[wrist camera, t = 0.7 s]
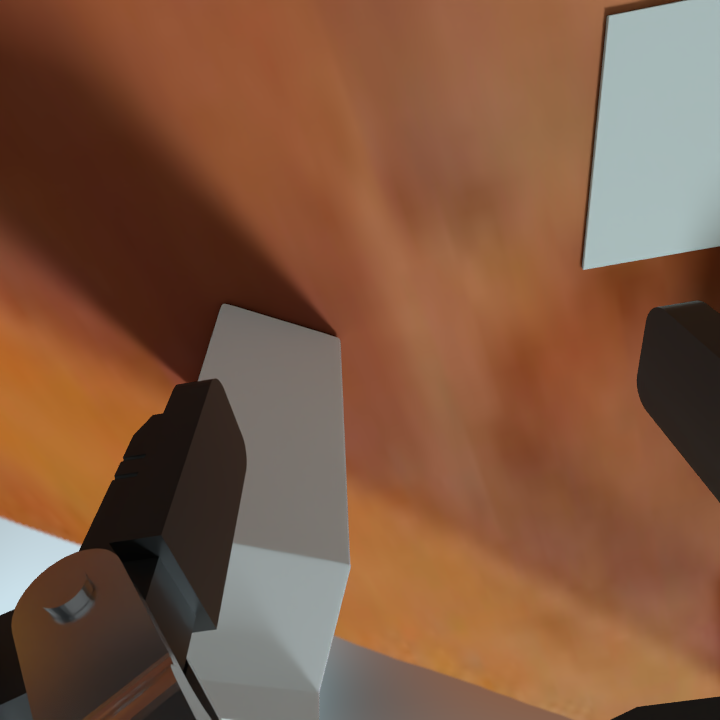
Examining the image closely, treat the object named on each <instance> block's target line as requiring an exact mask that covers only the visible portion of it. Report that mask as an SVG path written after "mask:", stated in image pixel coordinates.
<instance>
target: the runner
mask: <svg viewBox="0 0 720 720" xmlns="http://www.w3.org/2000/svg"><path fill="white" fill-rule="evenodd" d="M717 246H720V0H683V1H678V2H673V3H668V4H663V5H658V6H653V7H648V8H643V9H638V10H633V11H628V12H623V13H618V14H613V15H608V16H607V22H606V32H605V42H604V52H603V62H602V72H601V82H600V92H599V102H598V112H597V122H596V132H595V142H594V152H593V162H592V172H591V182H590V192H589V202H588V212H587V222H586V232H585V242H584V252H583V262H582V269H583V270H584V269H590V268H596V267H602V266H607V265H613V264H619V263H625V262H630V261H636V260H642V259H648V258H654V257H659V256H665V255H671V254H677V253H682V252H688V251H694V250H700V249H706V248H711V247H717Z"/></svg>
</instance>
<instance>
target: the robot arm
mask: <svg viewBox="0 0 720 720" xmlns="http://www.w3.org/2000/svg"><path fill="white" fill-rule="evenodd" d="M637 389H638V393H639V397H640V400H641V402H642V404H643V406H644V408H645V409H646V411H647V412H648V413H649V415H650V416H651V417H652V418H653V420H654V421H655V422H656V423H657V425H658V426H659V427H660V428H661V430H662V431H663V432H664V433H665V435H666V436H667V437H668V438H669V440H670V441H671V442H672V443H673V445H674V446H675V447H676V448H677V450H678V451H679V452H680V453H681V455H682V456H683V457H684V458H685V460H686V461H687V462H688V463H689V465H690V466H691V467H692V468H693V470H694V471H695V472H696V473H697V475H698V476H699V477H700V478H701V480H702V481H703V482H704V483H705V485H706V486H707V487H708V488H709V490H710V491H711V492H712V493H713V495H714V496H715V497H716V498H717V500H718V501H719V502H720V314H719V313H718V312H717V311H715V310H714V309H713V308H711V307H710V306H709V305H707V304H706V303H704V302H702V301H692V302H686V303H680V304H674V305H668V306H661V307H656V308H653V309H652V310H651V311H650V312H649V314H648V316H647V320H646V325H645V331H644V337H643V343H642V349H641V355H640V361H639V368H638V374H637ZM123 459H124V461H123V462H121V463H120V465H119V467H118V469H117V471H116V473H115V480H113V481H112V482H111V484H110V486H109V488H108V490H107V493H106V495H105V497H104V499H103V501H102V503H101V505H100V507H99V510H98V512H97V514H96V516H95V518H94V520H93V522H92V524H91V527H90V529H89V531H88V533H87V535H86V537H85V539H84V541H83V544H82V546H81V548H80V550H79V552H76V553H74V554H71V555H69V556H67V557H65V558H63V559H61V560H59V561H58V562H56V563H55V564H53V565H52V566H50V567H49V568H47V569H46V570H45V571H44V572H43V573H41V574H40V575H39V576H38V577H37V578H36V579H35V580H34V581H33V582H32V583H31V584H30V586H29V587H28V588H27V589H26V590H25V592H24V593H23V595H22V597H21V598H20V600H19V602H18V603H17V606H16V607H15V609H14V610H12V611H9V612H7V613H5V614H2V615H0V720H222V719H221V717H220V715H219V714H218V712H217V710H216V708H215V706H214V704H213V703H212V701H211V699H210V697H209V695H208V693H207V692H206V690H205V688H204V686H203V684H202V682H201V681H200V679H199V677H198V675H197V673H196V672H195V670H194V668H193V666H192V664H191V662H190V661H189V659H188V658H187V653H188V649H189V644H190V640H191V635H192V633H195V632H202V631H209V630H216V629H217V625H218V620H219V614H220V609H221V603H222V598H223V593H224V587H225V582H226V577H227V571H228V566H229V560H230V555H231V550H232V544H233V539H234V533H235V528H236V523H237V517H238V512H239V507H240V501H241V496H242V490H243V485H244V480H245V474H246V468H247V455H246V448H245V443H244V439H243V436H242V434H241V431H240V429H239V426H238V423H237V421H236V418H235V416H234V413H233V411H232V408H231V405H230V403H229V400H228V398H227V395H226V392H225V390H224V388H223V385H222V384H221V382H220V381H219V380H218V379H216V378H215V379H209V380H202V381H196V382H190V383H184V384H178V385H176V386H175V387H174V389H173V392H172V394H171V396H170V399H169V401H168V403H167V406H166V408H165V411H164V413H163V414H157V415H153V416H152V417H151V418H150V419H149V420H148V421H147V422H146V423H145V424H144V425H143V426H142V427H141V428H140V429H139V430H138V431H137V432H136V433H135V434H134V435H133V437H132V439H131V442H130V444H129V446H128V448H127V450H126V452H125V454H124V456H123ZM611 720H720V697H713V698H705V699H697V700H689V701H681V702H673V703H665V704H657V705H649V706H641V707H636V708H634V709H632V710H630V711H628V712H626V713H624V714H622V715H620V716H618V717H615V718H613V719H611Z"/></svg>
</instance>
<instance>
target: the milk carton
mask: <svg viewBox="0 0 720 720" xmlns="http://www.w3.org/2000/svg"><path fill="white" fill-rule="evenodd" d="M215 378H216V379H218V380H219V381H220V382H221V384H222V385H223V388H224V390H225V392H226V395H227V398H228V400H229V403H230V405H231V408H232V411H233V413H234V416H235V418H236V421H237V423H238V426H239V429H240V431H241V434H242V436H243V439H244V443H245V448H246V455H247V468H246V474H245V480H244V485H243V490H242V496H241V501H240V507H239V512H238V517H237V523H236V528H235V533H234V539H233V544H232V550H231V555H230V560H229V566H228V571H227V577H226V582H225V587H224V593H223V598H222V603H221V609H220V614H219V620H218V625H217V629H216V630H209V631H202V632H195V633H192V635H191V640H190V644H189V649H188V653H187V658H188V659H189V661H190V662H191V664H192V666H193V668H194V670H195V672H196V673H197V675H198V677H199V679H200V681H201V682H202V684H203V686H204V688H205V690H206V692H207V693H208V695H209V697H210V699H211V701H212V703H213V704H214V706H215V708H216V710H217V712H218V714H219V715H220V717H221V719H222V720H319V692H320V688H321V684H322V679H323V676H324V672H325V668H326V663H327V660H328V655H329V652H330V648H331V644H332V639H333V636H334V632H335V628H336V624H337V620H338V616H339V612H340V608H341V603H342V599H343V595H344V591H345V587H346V583H347V579H348V575H349V571H350V567H351V565H350V551H349V528H348V505H347V482H346V459H345V436H344V413H343V390H342V367H341V344H340V339H339V338H337V337H335V336H331V335H328V334H325V333H322V332H318V331H315V330H312V329H309V328H305V327H302V326H299V325H295V324H292V323H289V322H285V321H282V320H279V319H275V318H272V317H269V316H266V315H262V314H259V313H256V312H252V311H249V310H246V309H242V308H239V307H236V306H232V305H229V304H222V306H221V308H220V311H219V314H218V317H217V321H216V324H215V327H214V330H213V334H212V337H211V340H210V343H209V346H208V350H207V353H206V356H205V359H204V362H203V366H202V369H201V372H200V375H199V379H198V381H202V380H209V379H215Z"/></svg>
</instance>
